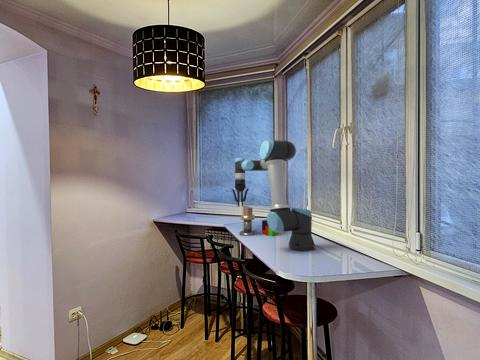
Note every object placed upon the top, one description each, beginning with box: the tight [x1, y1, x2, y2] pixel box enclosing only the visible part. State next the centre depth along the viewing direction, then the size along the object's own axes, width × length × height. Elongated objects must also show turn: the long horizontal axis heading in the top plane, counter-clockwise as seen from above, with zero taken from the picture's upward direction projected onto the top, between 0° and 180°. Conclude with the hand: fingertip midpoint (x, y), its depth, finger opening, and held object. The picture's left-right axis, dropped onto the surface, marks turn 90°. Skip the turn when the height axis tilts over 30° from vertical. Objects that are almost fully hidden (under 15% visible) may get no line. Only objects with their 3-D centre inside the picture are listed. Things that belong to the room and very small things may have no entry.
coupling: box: [240, 205, 256, 221], centre depth 225 cm, size 17×10×9 cm, turn 12°
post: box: [238, 220, 257, 237], centre depth 225 cm, size 12×12×11 cm
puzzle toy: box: [261, 219, 283, 237], centre depth 224 cm, size 10×10×10 cm
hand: (240, 210), depth 230 cm, fingers closed
